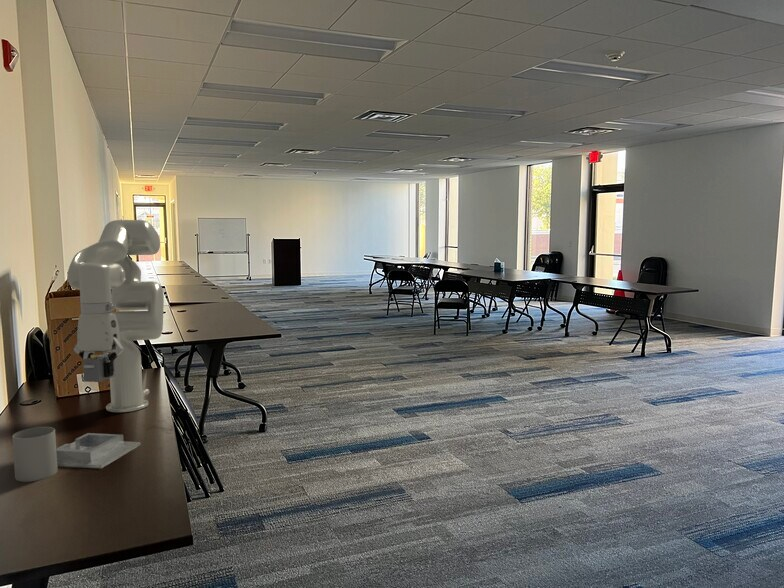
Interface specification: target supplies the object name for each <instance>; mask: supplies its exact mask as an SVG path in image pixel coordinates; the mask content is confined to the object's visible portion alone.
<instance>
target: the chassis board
mask: <svg viewBox="0 0 784 588" xmlns="http://www.w3.org/2000/svg"><path fill="white" fill-rule="evenodd" d="M124 439H125V438H124V434H118V433H117V434H115V433H112V434H111V433H94V432H92V433H91V432H87V433H85V434H83V435H81V436H79V437H76V438H74V441H73V442H71V443H64V444H63V445H60V446H58V447H56V452H57V467H68V468H81V469H82V468H85V469H87V468H88V469H103V468H104V467H106V466H108V465H110V464H111V463H113V462H114V461H116V460H118V459H120V458H122V457H123V456H125V455H127V454H128V453H130V452H131V451H133V450H135V449H137V448H138V447H140V446H141V445H142V444H141V442H140V441H127V440H126V441H125V440H124Z"/></svg>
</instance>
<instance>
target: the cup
mask: <svg viewBox="0 0 784 588" xmlns="http://www.w3.org/2000/svg"><path fill="white" fill-rule="evenodd" d="M11 437H12V440H11V441H12V451H13V465H14V479H15V480H16V481H18V482H35V481H41V480H44V479H47V478H51V477H52V476H54V475H55V474H57V473H58V471H59V470H58V466H57V452H56V448H57V442H56V441H57V439H56V429H55V428H54V427H52V426H51V427H50V426H36V427H31V428H26V429H23V430H19V431H17V432H15V433H14V434H13V435H12V436H11Z"/></svg>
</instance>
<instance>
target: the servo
mask: <svg viewBox="0 0 784 588" xmlns="http://www.w3.org/2000/svg"><path fill="white" fill-rule="evenodd" d="M104 363H105V359H104V355H103V354H97V353H95V354H93V355H91V357H90V358H86V359H82V369H83V370H82V371H83V382H85V383H93V382H94V383H100V382H104V381H106V380H110V378H112V377H115V376H116V369H115V361H113V365H114V372H113V376H110V377H104V365H103V364H104Z"/></svg>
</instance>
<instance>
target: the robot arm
mask: <svg viewBox="0 0 784 588" xmlns="http://www.w3.org/2000/svg"><path fill="white" fill-rule="evenodd" d="M160 248H161V240H160V236H159V234H158V231H157V230H156V229H155V228H154V226H153V224H151V223H150V222H149V221H147V220H144V219H117V220H116V219H115V220H111V221H109V222H108V223H107V224H106V225H105V226H104V228H103V230H102V232H101V235H100V237H99V240H98V242H96V243H93V244H91V245H89V246H88V247H85V248H83V249H81V250H80V251H78V252H76V253H75V255H74V256H73V258H72V259H71V261H70V264H69V266H68V270H67V274H66V275H67V276H66V277H67V281H68V285H69V286H70V287H72V289H75V290H79V298H80V299H79V301H80V315H79V316H78V321H77V330H76V331H77V333H76V334H77V343H76V344H75V346H74V347H73V351H74V352H75V353H76V354H77V355H78V356H79V357H80V358H81V359H82V360H83V359H86V358H90V357H91V355H93V354H96V352H97V353H99V352H102V355H104V359H105V363H104V364H103V365H104V377H110V376H113V372H114V365H113V361H115V369H116V376H115V377H112V378H109V387H110V388H109V389H110V402H109V403H108V404H107V405H106V406H105V409H106V411H107V412H109V413H128V412H129V413H130V412H135V411H139V410H142V409H145V408H146V407H148V406H149V400H148V399H145V396H148V395H149V394H150V390H149V389H148V388H145V389H143V373H142V355H141V350H139V348H138V346H137V345H136V344H135V343H134V342H135V341H148V340H150V341H152V340H157V339H159V338H160V337H162V333H163V328H164V327H163V326H164V307H165V306H164V304H165V303H164V302H165V300H164V299H165V297H164V296H165V295H164V290H163V287H162V285H161V283H159V282H158V281H157V282H156V281H150V280H149V281H148V280H147V281H142V270H141V268H140V266H138V265H137V263H136V262H135V261H134V260H133V259H132V258H130V257H129V256H154V255H156V254H157V253H158V252H159V251H160ZM115 310H119V311H115ZM113 311H115V312H113Z"/></svg>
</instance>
